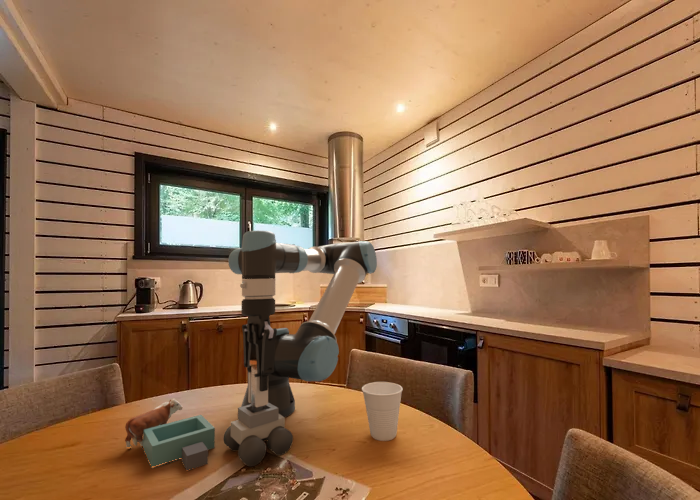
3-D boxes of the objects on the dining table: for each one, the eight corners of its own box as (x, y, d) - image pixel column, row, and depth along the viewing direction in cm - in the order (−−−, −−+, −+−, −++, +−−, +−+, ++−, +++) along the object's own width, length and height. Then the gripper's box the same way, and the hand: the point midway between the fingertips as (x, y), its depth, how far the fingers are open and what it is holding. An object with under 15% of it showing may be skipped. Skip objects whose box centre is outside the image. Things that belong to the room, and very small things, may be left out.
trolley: (242, 470, 65) (243, 422, 66) (223, 450, 73) (223, 407, 74) (292, 450, 73) (292, 407, 73) (270, 433, 81) (270, 395, 82)
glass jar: (246, 419, 74) (246, 359, 75) (262, 414, 76) (262, 357, 78) (253, 424, 71) (254, 362, 72) (269, 419, 73) (269, 359, 75)
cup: (403, 447, 73) (401, 395, 74) (359, 444, 75) (358, 393, 76) (405, 427, 82) (403, 382, 84) (366, 425, 84) (365, 381, 86)
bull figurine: (184, 430, 84) (185, 397, 85) (129, 455, 72) (130, 416, 73) (173, 427, 86) (174, 395, 87) (117, 451, 74) (119, 413, 75)
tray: (142, 449, 74) (143, 429, 75) (200, 432, 82) (201, 414, 83) (151, 468, 66) (152, 446, 67) (214, 447, 74) (214, 427, 75)
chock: (181, 462, 69) (182, 447, 69) (202, 456, 71) (202, 441, 72) (186, 472, 65) (186, 456, 66) (207, 464, 68) (208, 449, 68)
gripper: (229, 297, 80) (228, 398, 78) (258, 299, 68) (257, 418, 65) (258, 296, 85) (258, 391, 82) (290, 297, 73) (290, 408, 70)
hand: (258, 403), depth 74 cm, fingers closed on glass jar, 3 cm apart
